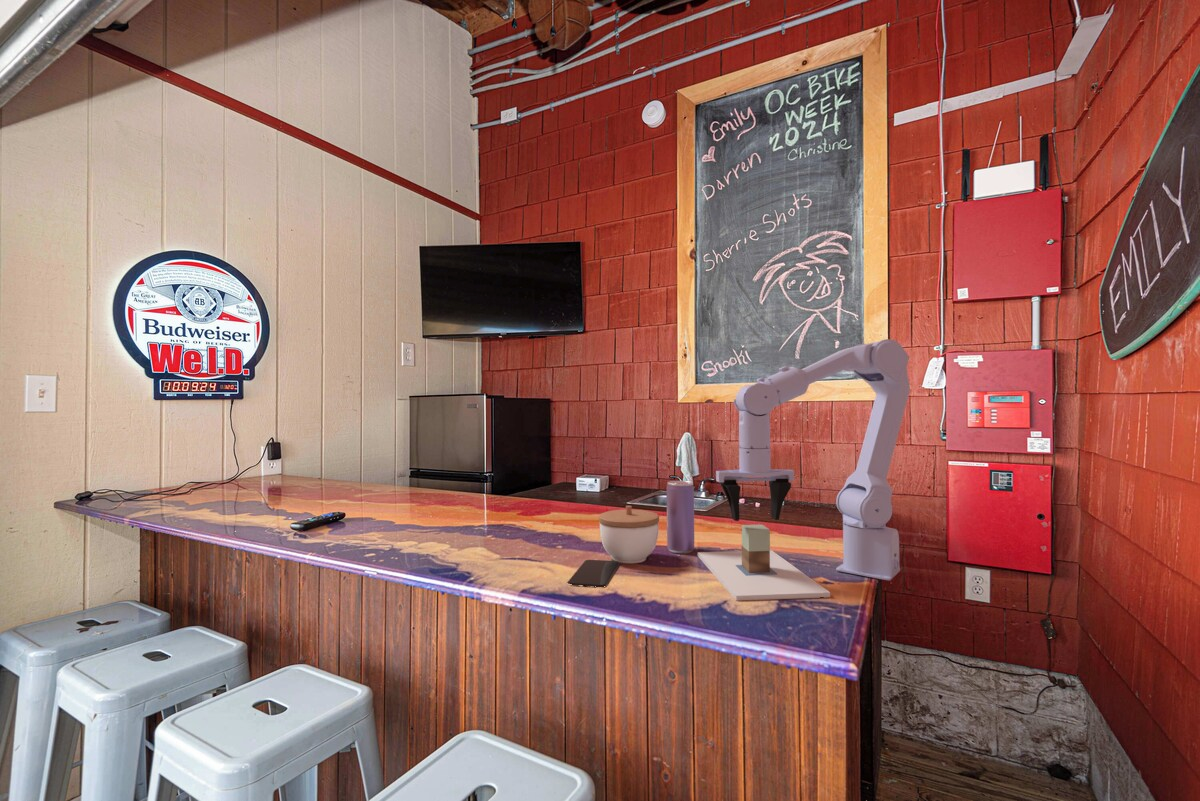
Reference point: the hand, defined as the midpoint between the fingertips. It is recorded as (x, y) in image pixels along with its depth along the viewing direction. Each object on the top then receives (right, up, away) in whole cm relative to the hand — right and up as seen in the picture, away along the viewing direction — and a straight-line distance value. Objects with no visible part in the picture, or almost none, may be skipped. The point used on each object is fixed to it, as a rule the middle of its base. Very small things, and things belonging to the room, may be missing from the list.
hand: (755, 519), depth 104 cm
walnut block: (0, -10, 0) cm, 10 cm away
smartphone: (-31, -11, +1) cm, 33 cm away
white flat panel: (0, -10, 0) cm, 10 cm away
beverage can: (-12, -11, +17) cm, 23 cm away
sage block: (0, -6, 0) cm, 6 cm away
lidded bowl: (-23, -11, +11) cm, 28 cm away
